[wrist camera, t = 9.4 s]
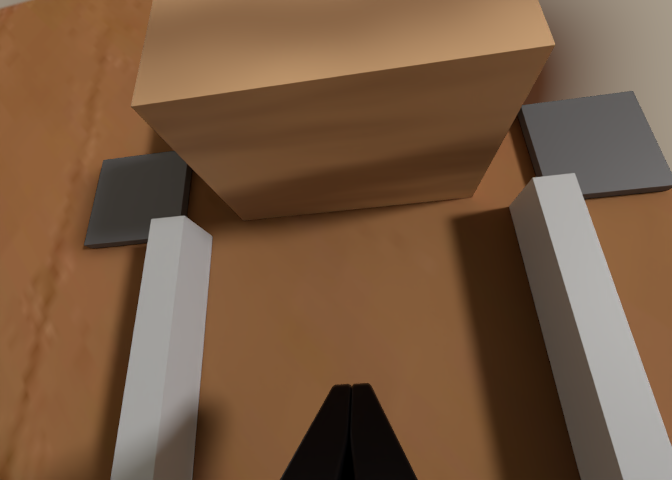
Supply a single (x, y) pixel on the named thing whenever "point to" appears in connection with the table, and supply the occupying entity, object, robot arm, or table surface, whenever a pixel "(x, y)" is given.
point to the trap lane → (539, 259)
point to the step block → (338, 96)
